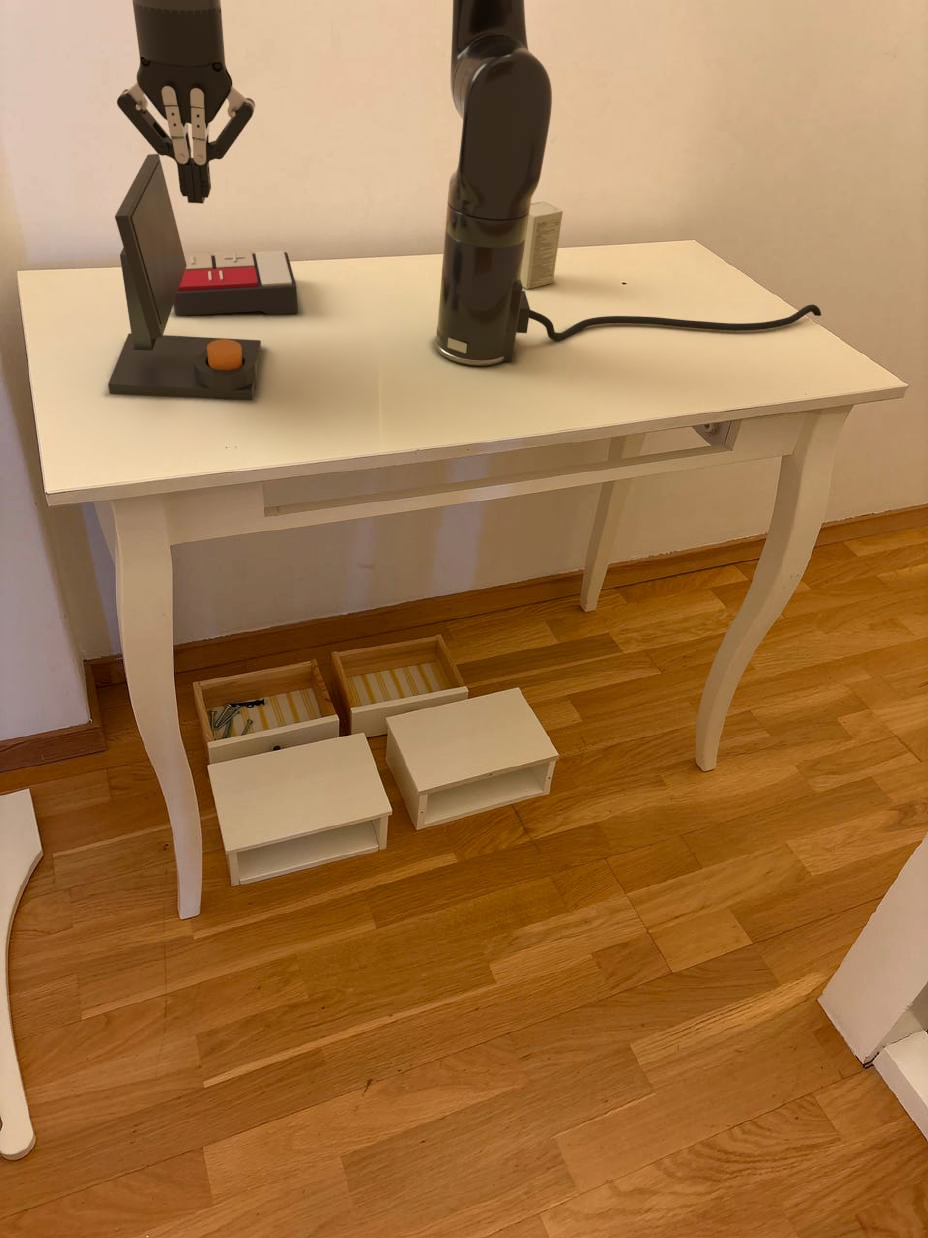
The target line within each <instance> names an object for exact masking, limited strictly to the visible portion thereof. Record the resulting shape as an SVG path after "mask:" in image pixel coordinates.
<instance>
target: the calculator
mask: <svg viewBox="0 0 928 1238" xmlns="http://www.w3.org/2000/svg"><path fill="white" fill-rule="evenodd" d="M184 257H185V261H186V265H187V266H186V269H185V272H184V275H183V278H182V281H181V284H180V287H179V290H178V293H177V295H176V298H175V301H174V304H173V311H174V315H175V316H177V317H184V316H186V317H187V316H202V315H216V314H217V315H218V314H230V313H248V312H262V313H264V314H266V315H269V316H273V315H274V316H276V315H289V314H292V315H293V314H297V313H298V312H299V306H298V305H299V304H298V291H297V284H296V279H295V276H294V273H293V269H292V265H291V261H290V258H289V254H288V252H286V251H284V250H265V251H264V250H263V251H256V252H255V253H253V251H252V250H238V251H237V250H236V251H216V252H214V255H213V254H212V253H211V252H197V253H196V252H195V253H193V252H192V253H184Z"/></svg>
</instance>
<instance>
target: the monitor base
mask: <svg viewBox="0 0 928 1238" xmlns="http://www.w3.org/2000/svg"><path fill="white" fill-rule="evenodd" d="M221 339H227V340H233V341H236V342H238V343H239V344H240V345H241V350H242V366H241V367H240V368H238V369H234V370H229V371H227V370H216V369H214V368H211V367H209V364H208V354H207V345H208V344H209V343H210V342H212V341H215V340H221ZM261 353H262V341H261V340H259V339H244V338H243V339H242V338H227V337H226V338H223V337H207V336H206V337H205V336H186V335H168V334H163V336H162V338H157V339H156V342H155V344H154V347H153V350H134V348H133V342H132V335H131V332H129V333H127V335H126V338H125V341H124V343H123V346H122V349H121V351H120V354H119V357H118V358H117V361H116V364H115V366H114V368H113V371H112V373H111V376H110V379H109V381H108V383H107V386H108V391H109V392H108V393H109V394H110V395H125V396H127V395H129V396H149V397H150V396H151V397H170V398H171V397H172V398H173V397H174V398H191V399H192V398H196V399H213V400H214V399H215V400H216V399H217V400H239V401H253V398H254V394H255V388H256V381H257V376H258V370H259V364H260V359H261Z"/></svg>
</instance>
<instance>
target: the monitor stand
mask: <svg viewBox="0 0 928 1238" xmlns="http://www.w3.org/2000/svg"><path fill="white" fill-rule="evenodd" d="M119 259H120V266H121V273H122V280H123V286H124V287H123V288H124V293H125V300H126V307H127V313H128V320H129V328H130V333H131V335H132V342H133V348H134V350H153V347H154V344H155V342H156V339H157V338H153V339H150V336H149V333H148V329H147V326H146V322H145V319H144V315H143V312H142V309H141V305H140V302H139V298H138V295H137V291H136V288H135V285H134V281H133V278H132V274H131V271H130V267H129V264H128V261H127V257H126V254H125V250H124V247H123V246H122V249H121V252H120V254H119Z"/></svg>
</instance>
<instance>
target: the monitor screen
mask: <svg viewBox="0 0 928 1238" xmlns="http://www.w3.org/2000/svg"><path fill="white" fill-rule="evenodd" d="M114 219H115V222H116V226H117V229H118V233H119V236H120V240H121V243H122V248H123V247H124V250H125V254H126V257H127V261H128V264H129V267H130V271H131V274H132V278H133V281H134V285H135V288H136V291H137V295H138V298H139V302H140V305H141V309H142V312H143V315H144V319H145V322H146V326H147V329H148V333H149V336H150V339H153V338H162V336H163V335H164V333H165V330H166V327H167V324H168V322H169V319H170V316H171V313H172V309H173V308H174V306H173V304H174V301H175V298H176V295H177V293H178V290H179V287H180V284H181V281H182V278H183V275H184V272H185V269H186V266H187V265H186V261H185V257H184V254H185V253H184V249H183V245H182V242H181V241H182V240H181V237H180V233H179V230H178V229H179V228H178V225H177V221H176V217H175V213H174V209H173V205H172V201H171V198H170V193H169V190H168V186H167V182H166V177H165V174H164V169H163V165H162V161H161V156H160V155H159V154H158V153H152V154H149V153H148V154H147V155H146V157H145V159H144V160H143V163H142V165H141V166H140V168H139V169H138V172H137V174H136V176H135V178H134V180H133V181H132V183H131V185H130V187H129V189H128V191H127V193H126V195H125V196H124V198H123V200H122V202H121V204H120V206H119V208H118V210H117V212H116V213H115V215H114Z"/></svg>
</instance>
